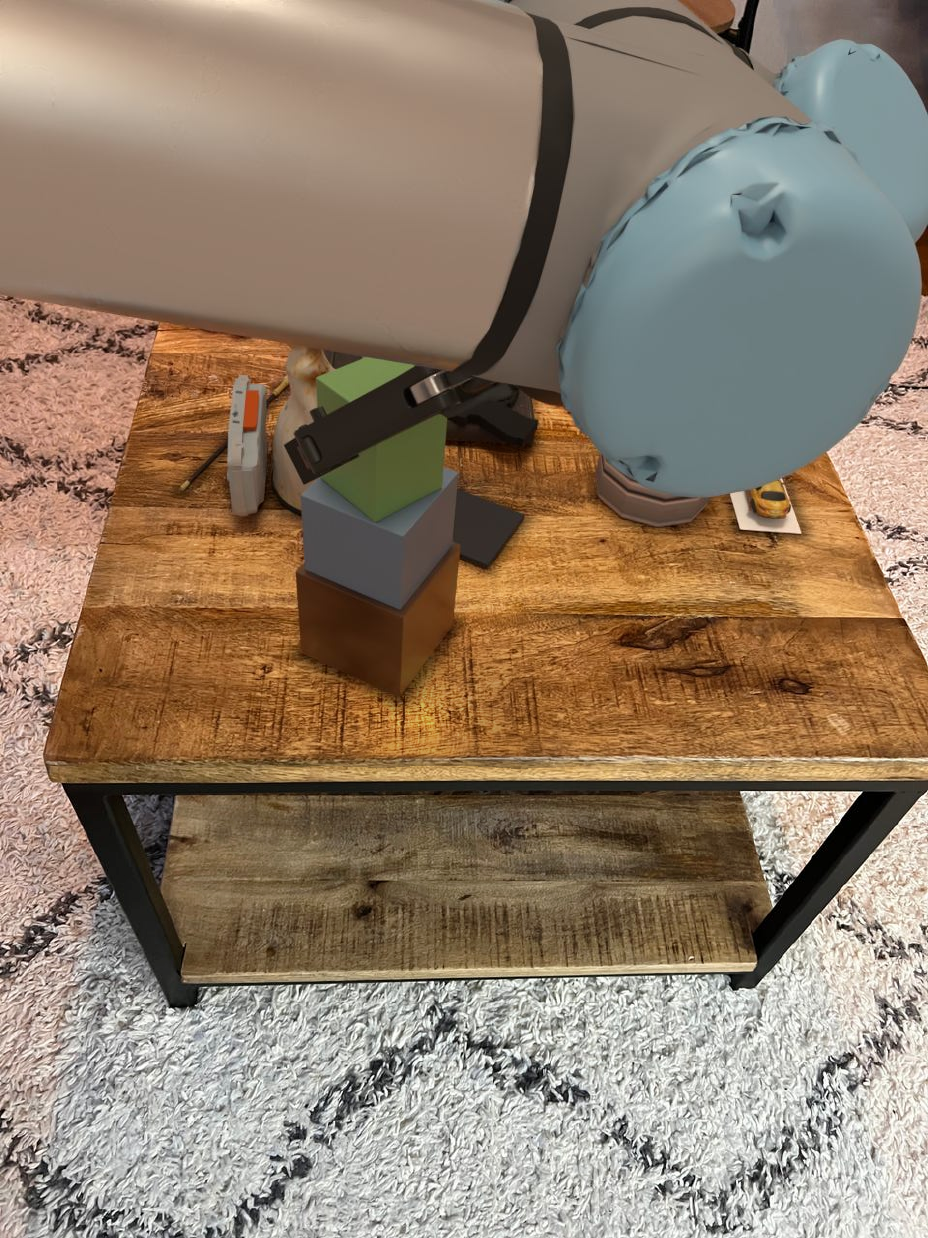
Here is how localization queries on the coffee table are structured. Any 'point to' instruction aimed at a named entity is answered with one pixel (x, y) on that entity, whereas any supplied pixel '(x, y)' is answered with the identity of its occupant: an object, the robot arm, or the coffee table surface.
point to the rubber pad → (482, 528)
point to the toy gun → (499, 420)
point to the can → (643, 499)
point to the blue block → (377, 541)
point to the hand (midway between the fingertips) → (383, 424)
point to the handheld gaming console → (247, 446)
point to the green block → (383, 446)
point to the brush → (183, 487)
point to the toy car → (765, 509)
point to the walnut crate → (376, 626)
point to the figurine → (296, 420)
